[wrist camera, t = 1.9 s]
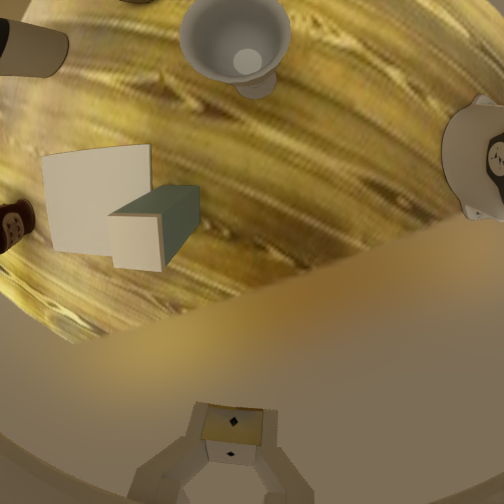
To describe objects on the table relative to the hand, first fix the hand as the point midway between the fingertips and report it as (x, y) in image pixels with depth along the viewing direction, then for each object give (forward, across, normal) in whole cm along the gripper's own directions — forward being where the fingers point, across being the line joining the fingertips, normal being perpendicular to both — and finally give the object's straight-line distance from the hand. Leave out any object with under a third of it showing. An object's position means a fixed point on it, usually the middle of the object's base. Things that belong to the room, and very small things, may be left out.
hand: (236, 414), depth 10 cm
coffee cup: (+29, +42, +2) cm, 51 cm away
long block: (+29, +11, 0) cm, 31 cm away
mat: (+29, +25, 0) cm, 38 cm away
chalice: (+29, +2, -16) cm, 33 cm away
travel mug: (+29, +34, -25) cm, 51 cm away
